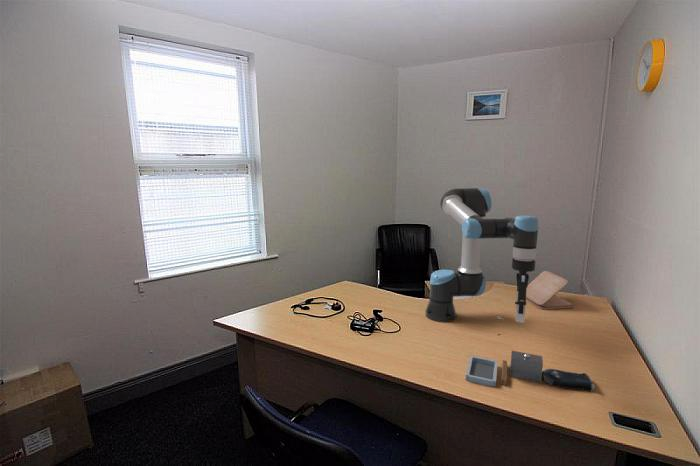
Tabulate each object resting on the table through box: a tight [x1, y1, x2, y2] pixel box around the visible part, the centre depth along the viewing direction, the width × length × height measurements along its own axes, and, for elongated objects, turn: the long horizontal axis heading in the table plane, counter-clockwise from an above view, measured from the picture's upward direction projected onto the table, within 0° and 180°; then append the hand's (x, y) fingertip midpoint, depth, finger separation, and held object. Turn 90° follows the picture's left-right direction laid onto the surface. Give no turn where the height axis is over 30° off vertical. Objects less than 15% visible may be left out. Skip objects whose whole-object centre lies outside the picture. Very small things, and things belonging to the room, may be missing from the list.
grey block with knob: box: [509, 350, 544, 384], centre depth 131 cm, size 10×5×9 cm, turn 66°
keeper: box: [465, 355, 499, 387], centre depth 134 cm, size 10×15×2 cm, turn 156°
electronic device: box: [541, 368, 596, 393], centre depth 128 cm, size 9×6×15 cm
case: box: [526, 270, 575, 311], centre depth 201 cm, size 20×21×16 cm
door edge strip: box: [500, 360, 508, 386], centre depth 133 cm, size 2×14×2 cm, turn 156°
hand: (519, 315), depth 133 cm, fingers open, 13 cm apart
